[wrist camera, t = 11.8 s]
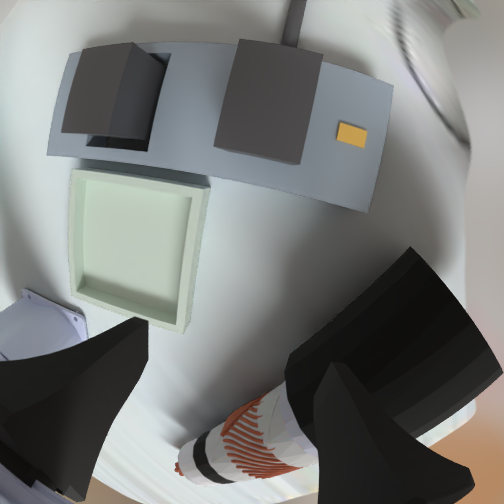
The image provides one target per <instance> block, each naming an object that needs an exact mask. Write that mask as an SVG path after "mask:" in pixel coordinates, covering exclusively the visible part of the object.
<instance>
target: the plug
mask: <svg viewBox="0 0 504 504" xmlns="http://www.w3.org/2000/svg"><path fill="white" fill-rule="evenodd" d="M166 70H167V68H165V67H164V66H163V65H162V64H160V63H159V62H158V61H157V60H155V59H154V58H153V57H152V56H150V55H149V54H148V53H146V52H145V51H144V50H143V49H141V48H140V47H139V46H137V45H136V44H135V43H133V42H132V43H122V44H113V45H106V46H99V47H93V48H87V49H83V50H82V53H81V56H80V59H79V62H78V65H77V68H76V71H75V75H74V78H73V81H72V85H71V89H70V93H69V96H68V101H67V105H66V109H65V114H64V118H63V123H62V129H61V133H69V134H83V135H94V136H104V137H113V138H124V139H135V140H145V141H150V136H151V131H152V127H153V122H154V117H155V113H156V108H157V104H158V100H159V96H160V92H161V88H162V85H163V81H164V77H165V74H166Z"/></svg>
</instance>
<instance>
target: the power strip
mask: <svg viewBox="0 0 504 504" xmlns="http://www.w3.org/2000/svg"><path fill="white" fill-rule="evenodd" d="M306 2H307V0H292V1H291V5H290V9H289V13H288V17H287V21H286V25H285V29H284V33H283V37H282V41H281V45H278V44H273V43H267V42H260V41H253V40H245V39H240V40H239V43H238V45H231V44H220V43H203V42H155V43H139V44H136V45H137V46H139V47H140V48H141V49H143V50H144V51H145V52H146V53H148V54H149V55H150V56H152V57H153V58H154V59H155V60H157V61H158V62H159V63H160V64H162V65H168V67H167V70H166V74H165V77H164V81H163V85H162V88H161V92H160V96H159V100H158V104H157V108H156V113H155V117H154V122H153V127H152V131H151V136H150V141H149V147H148V151H141V150H131V149H121V148H110V147H106V142H107V137H104V136H94V135H83V134H69V133H61V129H62V123H63V118H64V114H65V109H66V105H67V101H68V96H69V93H70V89H71V85H72V81H73V78H74V75H75V71H76V68H77V65H78V62H79V59H80V56H81V53H82V51H81V52H76V53H71V54H70V55H69V58H68V61H67V64H66V67H65V70H64V74H63V77H62V81H61V84H60V88H59V92H58V96H57V100H56V104H55V109H54V113H53V118H52V124H51V129H50V135H49V142H48V149H47V155H48V156H63V157H75V158H87V159H97V160H106V161H115V162H123V163H131V164H139V165H146V166H153V167H160V168H166V169H173V170H179V171H185V172H191V173H196V174H202V175H208V176H213V177H218V178H223V179H229V180H234V181H238V182H243V183H248V184H253V185H257V186H262V187H266V188H271V189H275V190H280V191H284V192H288V193H292V194H296V195H300V196H304V197H308V198H312V199H316V200H320V201H324V202H328V203H331V204H335V205H339V206H342V207H346V208H349V209H353V210H356V211H360V212H363V213H367V214H368V211H369V207H370V203H371V200H372V196H373V192H374V188H375V184H376V180H377V175H378V171H379V167H380V162H381V157H382V153H383V148H384V143H385V138H386V132H387V127H388V121H389V115H390V109H391V102H392V95H393V88H394V86H393V85H391V84H389V83H386V82H384V81H381V80H379V79H376V78H373V77H371V76H368V75H365V74H362V73H359V72H357V71H354V70H351V69H347V68H344V67H341V66H338V65H334V64H331V63H327V62H324V61H322V59H323V54H319V53H315V52H311V51H307V50H303V49H298V48H296V46H297V42H298V37H299V33H300V28H301V24H302V19H303V15H304V11H305V6H306Z"/></svg>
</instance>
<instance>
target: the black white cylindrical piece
mask: <svg viewBox="0 0 504 504" xmlns="http://www.w3.org/2000/svg"><path fill="white" fill-rule="evenodd" d="M331 362H338V363H345V364H346V365H347V366H348V367H349V368H350V369H351V371H352V372H353V373H354V374H355V376H356V377H357V378H358V380H359V381H360V382H361V383H362V385H363V386H364V387H365V388H366V390H367V391H368V392H369V393H370V395H371V396H372V397H373V398H374V399H375V401H376V402H377V403H378V404H379V405H380V406H381V407H382V408H383V410H384V411H385V412H386V413H387V414H388V415H389V416H390V417H391V418H392V419H393V420H394V421H395V422H396V423H397V424H398V425H399V426H401V427H402V428H403V429H404V430H405V431H406V432H407V433H409V434H410V435H411V436H412V437H414V438H415V439H416V438H417V437H419V436H421V435H423V434H424V433H426V432H427V431H429V430H431V429H432V428H434V427H435V426H437V425H438V424H440V423H441V422H443V421H444V420H446V419H447V418H449V417H450V416H452V415H453V414H454V413H456V412H457V411H459V410H460V409H461V408H463V407H464V406H465V405H467V404H468V403H469V402H470V401H472V400H473V399H474V398H475V397H477V396H478V395H479V394H480V393H481V392H483V391H484V390H485V389H486V388H487V387H489V386H490V385H491V384H492V383H493V382H494V381H495V380H496V379H497V378H498V377H500V376H501V375H502V374H503V371H502V368H501V366H500V364H499V362H498V361H497V359H496V357H495V355H494V353H493V352H492V350H491V348H490V347H489V345H488V343H487V342H486V340H485V339H484V337H483V335H482V334H481V332H480V331H479V329H478V328H477V326H476V325H475V323H474V322H473V321H472V319H471V318H470V316H469V315H468V313H467V312H466V311H465V309H464V308H463V307H462V305H461V304H460V303H459V301H458V300H457V299H456V297H455V296H454V295H453V294H452V292H451V291H450V290H449V289H448V287H447V286H446V285H445V284H444V282H443V281H442V280H441V279H440V278H439V276H438V275H437V274H436V273H435V272H434V271H433V270H432V268H431V267H430V266H429V265H428V264H427V263H426V262H425V261H424V260H423V258H422V257H421V256H420V255H419V254H418V253H417V252H416V251H415V250H414V249H413V248H412V247H411V246H410V247H409V248H408V249H407V250H406V252H405V253H404V254H403V255H402V256H401V257H400V258H399V259H398V260H397V261H396V262H395V263H394V264H393V265H392V266H391V267H390V268H389V269H388V270H387V271H386V272H385V273H384V274H383V275H382V276H381V277H380V278H378V279H377V280H376V281H375V282H374V283H373V284H372V285H371V286H370V287H369V288H368V289H367V290H366V291H365V292H364V293H363V294H361V295H360V296H359V297H358V298H357V299H356V300H355V301H354V302H353V303H351V304H350V305H349V306H348V307H347V308H346V309H345V310H344V311H342V312H341V313H340V314H339V315H338V316H337V317H335V318H334V319H333V320H332V321H331V322H329V323H328V324H327V325H326V326H325V327H323V328H322V329H321V330H320V331H319V332H317V333H316V334H315V335H314V336H312V337H311V338H310V339H309V340H307V341H306V342H305V343H304V344H302V345H301V346H300V347H299V348H297V349H296V350H295V351H293V352H292V353H291V354H290V356H289V359H288V362H287V365H286V368H285V371H284V374H285V381H284V382H283V383H282V384H281V385H279V386H278V387H276V388H275V389H273V390H272V391H270V392H267V393H265V394H264V395H262V396H261V397H259V398H257V399H255V400H253V401H251V402H249V403H247V404H245V405H243V406H241V407H240V408H238V409H237V410H235V411H234V412H233V413H232V414H231V415H230V416H229V417H228V418H227V419H226V421H225V422H223V423H221V424H219V425H217V426H216V427H215V428H213V429H212V430H210V431H208V432H206V433H204V434H203V435H201V436H200V437H198V438H196V439H194V440H191V441H189V442H188V443H186V444H185V445H184V446H183V447H182V448H181V449H180V452H179V455H178V462H177V463H175V466H176V468H175V472H179V474H180V476H185V477H186V478H187V479H188V480H190V481H191V482H193V483H195V484H196V485H201V486H213V485H218V484H227V483H234V482H242V481H248V480H252V479H256V478H262V479H265V478H271V477H274V476H278V475H281V474H284V473H288V472H291V471H294V470H297V469H300V468H303V467H306V466H310V465H313V464H316V463H318V462H319V460H318V451H317V443H316V435H315V426H314V418H313V407H314V395H315V393H316V391H317V389H318V387H319V385H320V383H321V381H322V379H323V377H324V375H325V373H326V371H327V369H328V367H329V365H330V363H331Z"/></svg>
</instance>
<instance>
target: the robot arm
mask: <svg viewBox="0 0 504 504" xmlns="http://www.w3.org/2000/svg"><path fill="white" fill-rule="evenodd" d="M148 325H149V321H148V320H145V319H142V318H139V317H136V316H134V317H132V318H130V319H128V320H126V321H124V322H122V323H120V324H118V325H117V326H115V327H113V328H111V329H109V330H107V331H105V332H103V333H101V334H99V335H97V336H95V337H92V338H90V339H88V337H87V329H86V322H85V318H84V317H83V316H82V315H81V314H78V313H76V312H74V311H71V310H69V309H67V308H65V307H62V306H60V305H58V304H56V303H54V302H52V301H49V300H47V299H45V298H43V297H41V296H39V295H37V294H35V293H33V292H31V291H29V290H27V289H25V288H24V289H23V290H22V298H21V299H19V300H18V301H16V302H15V303H13V304H12V305H10V306H9V307H8V308H6V309H5V310H3V311H2V312H0V504H74V503H72V502H70V501H69V500H67V499H65V498H64V497H62V496H60V495H59V494H57V493H56V492H55V491H57V492H58V493H60V494H62V495H65V496H67V497H69V498H70V499H72V500H74V501H76V502H81V501H84V500H85V498H86V494H87V490H88V486H89V483H90V479H91V476H92V473H93V470H94V467H95V464H96V461H97V458H98V456H99V453H100V450H101V448H102V445H103V443H104V441H105V438H106V436H107V434H108V431H109V429H110V427H111V425H112V423H113V421H114V419H115V417H116V416H117V414H118V413H119V411H120V409H121V408H122V406H123V405H124V403H125V401H126V400H127V398H128V397H129V395H130V393H131V392H132V390H133V389H134V387H135V385H136V384H137V382H138V381H139V379H140V377H141V375H142V373H143V370H144V368H145V366H146V364H147V361H148ZM313 418H314V426H315V435H316V443H317V451H318V460H319V492H318V504H454V503H456V502H457V501H458V500H460V499H461V498H463V497H464V496H466V495H467V494H468V493H469V492H470V491H472V489H473V488H474V486H475V483H474V480H473V477H472V475H471V472H470V470H469V468H467V467H465V466H462V465H460V464H458V463H455V462H453V461H451V460H449V459H447V458H444V457H443V456H441V455H439V454H437V453H436V452H434V451H432V450H431V449H429V448H428V447H426V446H425V445H423V444H422V443H420V442H419V441H418V440H416V439H415V438H414V437H412V436H411V435H410V434H409V433H407V432H406V431H405V430H404V429H403V428H402V427H401V426H399V425H398V424H397V423H396V422H395V421H394V420H393V419H392V418H391V417H390V416H389V415H388V414H387V413H386V412H385V411H384V410H383V408H382V407H381V406H380V405H379V404H378V403H377V402H376V401H375V399H374V398H373V397H372V396H371V395H370V393H369V392H368V391H367V390H366V388H365V387H364V386H363V385H362V383H361V382H360V381H359V380H358V378H357V377H356V376H355V374H354V373H353V372H352V371H351V369H350V368H349V367H348V366H347V365H346V364H345V363H338V362H331V363H330V365H329V367H328V369H327V371H326V373H325V375H324V377H323V379H322V381H321V383H320V385H319V387H318V389H317V391H316V393H315V395H314V407H313Z"/></svg>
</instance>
